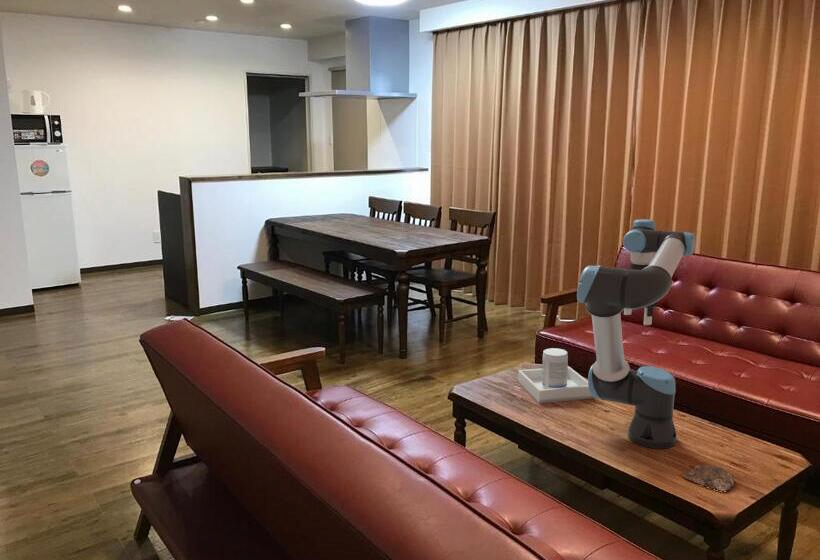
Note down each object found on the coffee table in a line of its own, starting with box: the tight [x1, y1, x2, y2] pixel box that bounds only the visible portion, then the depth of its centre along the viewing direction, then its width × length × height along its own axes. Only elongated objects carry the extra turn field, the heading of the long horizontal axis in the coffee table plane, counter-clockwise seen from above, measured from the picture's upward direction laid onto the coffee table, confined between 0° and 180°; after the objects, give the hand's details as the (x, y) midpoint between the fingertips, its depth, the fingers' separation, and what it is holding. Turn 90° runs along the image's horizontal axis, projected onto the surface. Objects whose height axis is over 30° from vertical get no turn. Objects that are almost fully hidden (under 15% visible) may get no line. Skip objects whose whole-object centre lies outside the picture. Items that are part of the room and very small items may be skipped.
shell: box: [683, 464, 735, 492], centre depth 190 cm, size 12×13×4 cm
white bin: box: [517, 365, 594, 404], centre depth 257 cm, size 22×22×5 cm
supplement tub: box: [542, 347, 569, 389], centre depth 256 cm, size 10×10×15 cm
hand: (637, 319), depth 240 cm, fingers open, 13 cm apart
